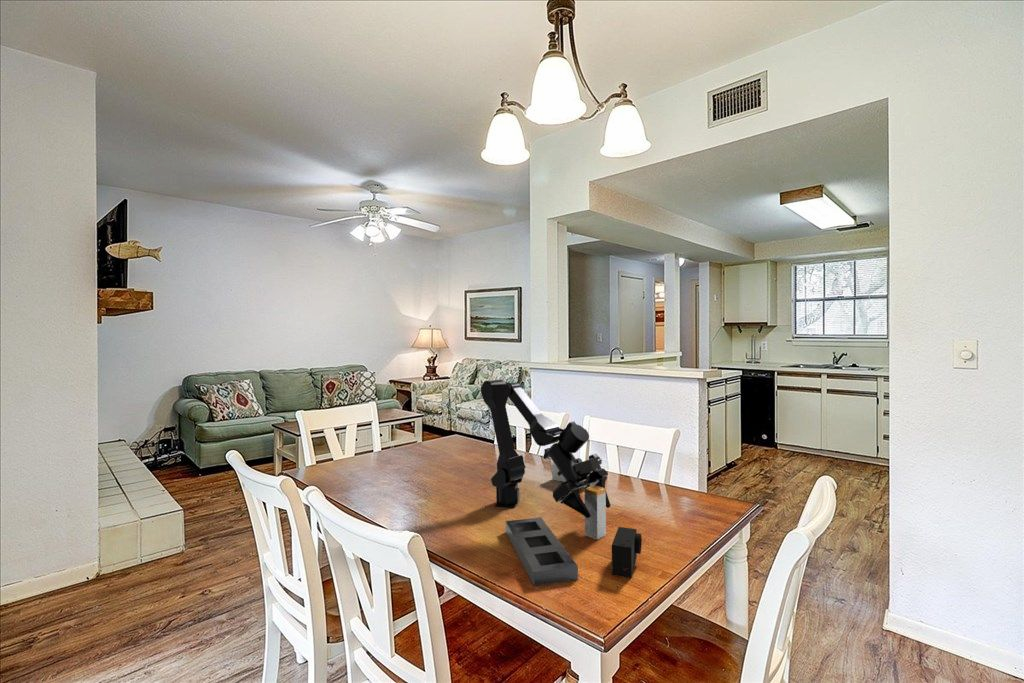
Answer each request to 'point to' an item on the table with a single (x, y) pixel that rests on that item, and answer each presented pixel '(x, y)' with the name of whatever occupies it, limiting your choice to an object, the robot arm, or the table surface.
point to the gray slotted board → (541, 552)
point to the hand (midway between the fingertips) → (599, 511)
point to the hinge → (555, 475)
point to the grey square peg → (595, 511)
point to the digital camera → (625, 551)
